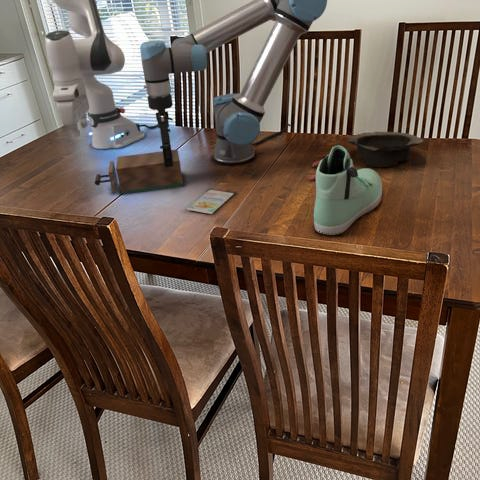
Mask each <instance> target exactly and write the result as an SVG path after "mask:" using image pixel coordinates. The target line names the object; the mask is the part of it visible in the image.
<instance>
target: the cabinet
mask: <svg viewBox="0 0 480 480" xmlns="http://www.w3.org/2000/svg"><path fill="white" fill-rule="evenodd" d="M171 152H172V159H173V166H171V167H165V163H164V156H163V150H162V151H154V152H146V153H145V152H144V153H137V154H130V155H122V156H117V158H116V164H115V165H116V166H115V170H116V174H117V179H118V184H119V185H118V186H119V189H120V193H121V195H126V194H127V195H128V194H136V193H141V192H148V191H149V192H150V191H159V190H164V189H165V190H166V189H170V188H171V189H172V188H178V187H184V181H183V175H182V174H183V173H182V167H181V160H180V154H179V150H178V149H177V148H176V149H171Z"/></svg>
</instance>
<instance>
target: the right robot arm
mask: <svg viewBox="0 0 480 480" xmlns="http://www.w3.org/2000/svg"><path fill="white" fill-rule="evenodd" d="M327 5H328V0H251V1H250V2H248V3H246V4H244V5H242V6H240V7H238V8H237V9H234V10H233V11H230V12H229V13H227V14H225V15H224V16H222V17H220V18H218V19H216V20H214V21H212V22H211V23H208V24H206V25H205V26H202V27H201V28H199V29H197V30H195V31H193V32H192V33H190V34H188V35H186V36H184V37H178V38H176V39H174V40H173V42H172V44H171V46H170V47H168V46H167V45H166V43H165V41H163V40H148V41H144V42H142V43H141V44H140V45H139V46H140V47H139V49H140V59H141V66H142V71H143V77H144V82H145V84H144V85H143V89H145V90H146V95H147V104H148V108H149V110H153V111H157V112H155V120H156V121H157V125H158V127H157V128H158V129H159V133H160V139H161V145H160V146H159V147H160V150H162V151H163V156H164V163H165V167H171V166H173V159H172V152H171V150H172V144H171V139H170V133H171V128H169V127H170V122H169V121H170V120H169V118H170V117H169V112H168V111H167V109H171V108H172V107H173V105H174V104H173V95H172V94H171V93H172V88H171V79H170V75H171V74H172V75H173V74H181V73H183V74H184V73H192V72H193V73H194V72H195V73H197V72H201V71H205V70H206V69H207V67H208V58H207V53H211V52H212V51H214V50H216V49H217V48H220V47H222V46H223V45H225V44H227V43H229V42H231V41H234V39H237V38H238V37H240V36H242V35H244V34H246V33H248V32H250V31H252V30H253V29H256V28H257V27H260V26H262V25H263V24H266V23H267V22H270V21H273V22H274V24H273V26H272V28H271V29H270V32H269V34H268V36H267V39H266V40H265V42H264V44H263V46H262V48H261V50H260V52H259V54H258V56H257V58H256V60H255V62H254V64H253V67H252V69H251V70H250V73H249V75H248V77H247V79H246V81H245V82H244V84H243V86H242V89H241V91H240V92H239V93H227V94H222V95H217V96H215V97H214V98H213V105H212V106H213V107H212V108H213V111H214V121H215V132H216V141H215V146H214V150H213V159H214V161H215V162H216V163H218V164H221V165H228V166H233V165H240V164H246V163H248V162H250V161H252V160H253V159H254V158H255V157H256V155H255V149H254V148H255V147H254V146H256V145H259V144H261V143H263V142H264V141H266V140H268V139H270V138H272V137H275V136H277V135H280V134H282V133H283V132H285V131H286V130H287V129H288V127H291V126H292V125H291V124H290V123H287V124H286V125H285V127H284V128H283V129H281V130H280V131H277V132H275V133H273V134H270V135H267V136H266V137H264V138H262V139H260V140H259V141H258V140H257V139H258V137H259V135H260V132H261V124H260V123H261V122H262V120H263V118H264V116H265V114H266V112H265V111H266V110H265V107H264V106H265V104H266V102H267V100H268V98H269V96H270V94H271V93H272V90H273V89H274V87H275V85H276V83H277V81H278V78H279V77H280V75H281V73H282V71H283V69H284V67H285V66H286V64H287V62H288V60H289V57H290V56H291V54H292V52H293V50H294V47H295V46H296V44H297V43H298V41H299V40H300V39H299V38H300V36H301V35H304V34H307V33H308V32H309V30H310V28H311V26H312V25H313V23H314V22H315V21H317V20H318V19H320V17H322V16H323V14H324V12H325V11H326V8H327ZM256 140H257V141H256ZM255 141H256V142H255Z"/></svg>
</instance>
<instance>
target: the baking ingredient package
mask: <svg viewBox="0 0 480 480" xmlns="http://www.w3.org/2000/svg"><path fill="white" fill-rule="evenodd" d="M233 195H235V193H234V192H228V191H222V190H215V189H209V190H208V191H207V192H205V193H204V194H202V196H200V197H199V198H198V199H197V200H196V201H194V202H193V203H192V204H190V205H189V206H188V207H187V208H186V210H187V211H194V212H198V213H204V214H209V215H212V214H214V212H216V211H217V210H218V208H220V207H221V206H222V205H223V204H225V202H227V201H228V200H229V199H230V198H231V197H232V196H233Z"/></svg>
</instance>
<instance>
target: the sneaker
mask: <svg viewBox="0 0 480 480" xmlns="http://www.w3.org/2000/svg"><path fill="white" fill-rule="evenodd" d="M319 161H320V163H319V165H317V168H316V172H315V173H316V178H315V201H314V207H313V225H314V229H315V231H316V232H318V233H320V234H323V235H326V236H327V235H328V236H336V235H339V234H342V233H344V232H345V231H347V230H348V229H349V228H350V227H351V226H352V225H353V224H354V222H356V221H357V220H358V219H359V218H360V217H362V216H363V215H365V214H367V213H370V212H372V210H374V209H375V208H377V207H378V205H380V203H381V200H382V196H383V184H382V183H383V182H382V179H381V176H380V175H379V173H378V172H377V171H376V170H374V169H372V168H367V167H365V168H358V169H357V168H355V167H354V161H353V159H352V158H351V156H350V153H349V152H348V150H347V148H345V147H344V146H342V145H334V146H333V147H331V149H330V151H329V154H327V155H326V156H325V157H324V158H322V159H321V160H319ZM343 230H344V231H343ZM319 231H320V232H319ZM322 232H323V233H322ZM339 232H340V233H339ZM326 233H327V234H326ZM328 233H329V234H328ZM335 233H337V234H335Z"/></svg>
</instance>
